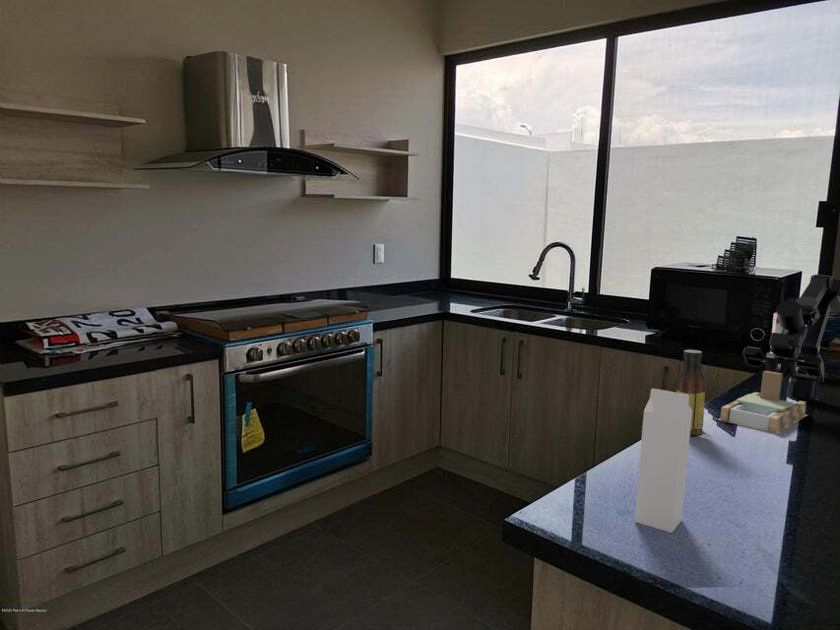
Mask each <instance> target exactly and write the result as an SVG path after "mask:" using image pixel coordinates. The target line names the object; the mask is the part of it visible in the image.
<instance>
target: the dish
mask: <svg viewBox="0 0 840 630" xmlns="http://www.w3.org/2000/svg"><path fill="white" fill-rule="evenodd" d="M779 412H781V411H778V410H773V409H768V408H764V407H759V406H754V405H749V404H744V403H742V404H740V405H738V406H735V407H733V408H731V409H730V418H729V421H731V422H735V423H739V424H744V425H748V426H752V427H757V428H761V429H765V430H769V422H770V417H772V416H774V415H776V414H777V413H779Z"/></svg>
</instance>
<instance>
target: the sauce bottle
mask: <svg viewBox="0 0 840 630" xmlns="http://www.w3.org/2000/svg"><path fill="white" fill-rule="evenodd" d="M682 355H683V366H682V371H680V373H679V375H678V377H677V383H676V393H682V394H687V395H689V406H690V408H691V409H692V418H691V429H690V436H691V435H696V436H700V435H702V433H703V427H704V417H705V397H706V390H705V386H706V384H705V383H706V378H705V377H704V374H703V373H702V371H701V370H702V369H701V365H702V364H701V362H702V358H703V352H702V351H701V350H697V349H685V350H683V354H682Z"/></svg>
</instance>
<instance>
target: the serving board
mask: <svg viewBox="0 0 840 630" xmlns="http://www.w3.org/2000/svg"><path fill="white" fill-rule="evenodd" d="M751 394H752V395H757V396H760V394H761V392H758V391H754V392H752V393H751ZM740 404H742V403H740V402H736V400H734V401H732V402H730V403H728V404H725V405H723V406H721V408H720V409H721V410H720V416H719V417H720V418H717V420H718V421H720V422H721V421H722V422H725V423H730V424H733V425H740V426H741V427H742V426H743V427H748V428H751V429H755V430H760V431H765V432H769V433H773V434H778V435H779V434H780V433H782V432H783V431H785V430H786V429H788V428H790V427H792V426H793V425H794V424H796V423H798V422H800V421H801V420H803V419H804V418H805V417H807V416H808V414H805V413H806V407H807V401H797V402H795V403H794V405H793V406H791V407H789V408H787V409H786V410H784V411H781V412H779V413H777V414H776V415H774V416H772V417H770V422H769V430H765V429H761V428H757V427H752V426H748V425H744V424H739V423H735V422H731V421H729V418H730V409H731V408H733V407H735V406H738V405H740Z"/></svg>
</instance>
